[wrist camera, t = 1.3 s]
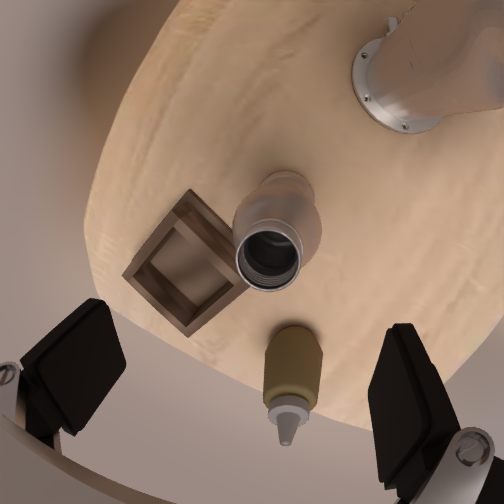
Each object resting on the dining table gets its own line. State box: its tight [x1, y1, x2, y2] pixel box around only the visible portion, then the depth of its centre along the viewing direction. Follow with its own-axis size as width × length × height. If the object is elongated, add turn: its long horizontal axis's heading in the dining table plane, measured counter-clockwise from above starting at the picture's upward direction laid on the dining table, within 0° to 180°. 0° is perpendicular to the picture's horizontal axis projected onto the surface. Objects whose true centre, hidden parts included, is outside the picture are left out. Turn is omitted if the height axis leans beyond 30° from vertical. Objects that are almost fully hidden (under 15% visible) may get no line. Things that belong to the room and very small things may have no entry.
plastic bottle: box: [232, 171, 322, 292], centre depth 24 cm, size 6×7×20 cm
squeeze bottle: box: [263, 326, 323, 446], centre depth 33 cm, size 8×8×18 cm
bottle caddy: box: [122, 189, 250, 338], centre depth 36 cm, size 14×14×6 cm
